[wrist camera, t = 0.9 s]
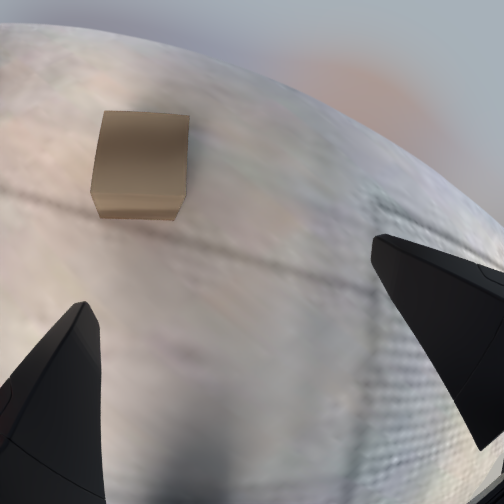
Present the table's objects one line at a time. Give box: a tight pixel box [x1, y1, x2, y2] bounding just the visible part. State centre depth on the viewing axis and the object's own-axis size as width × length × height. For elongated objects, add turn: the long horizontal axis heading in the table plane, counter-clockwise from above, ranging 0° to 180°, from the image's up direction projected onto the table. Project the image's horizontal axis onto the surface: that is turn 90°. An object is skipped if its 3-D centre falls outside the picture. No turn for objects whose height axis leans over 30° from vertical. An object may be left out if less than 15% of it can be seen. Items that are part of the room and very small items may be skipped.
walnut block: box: [90, 111, 189, 221], centre depth 17 cm, size 5×5×5 cm
